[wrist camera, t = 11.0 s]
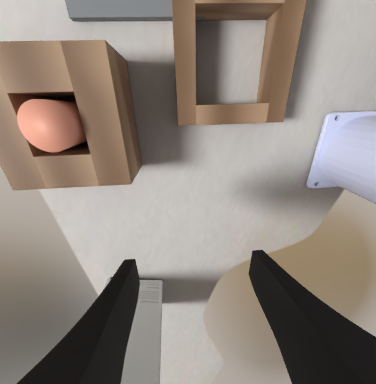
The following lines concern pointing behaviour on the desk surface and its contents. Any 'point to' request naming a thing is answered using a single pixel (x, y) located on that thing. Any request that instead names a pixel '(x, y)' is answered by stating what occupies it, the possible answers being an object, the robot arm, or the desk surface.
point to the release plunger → (51, 124)
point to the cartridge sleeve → (270, 68)
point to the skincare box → (144, 336)
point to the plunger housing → (88, 108)
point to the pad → (120, 10)
